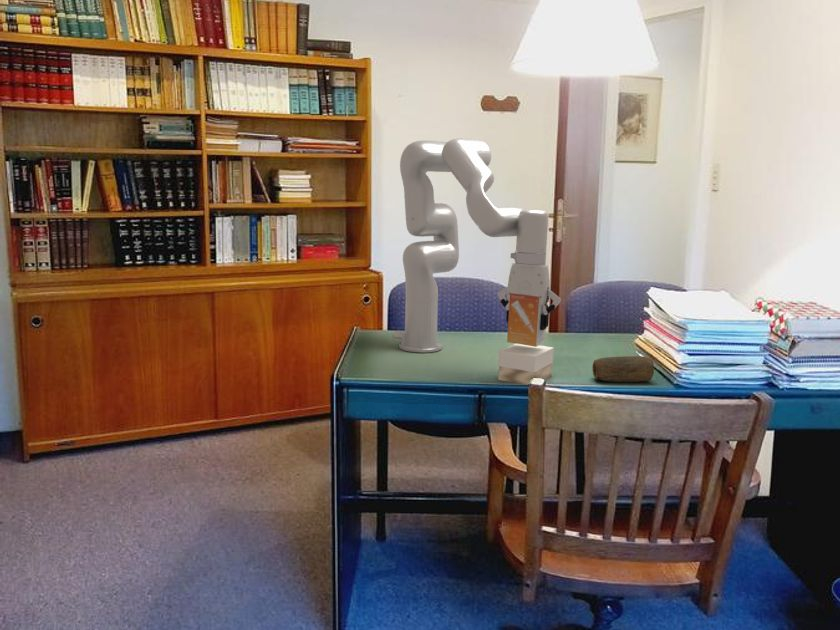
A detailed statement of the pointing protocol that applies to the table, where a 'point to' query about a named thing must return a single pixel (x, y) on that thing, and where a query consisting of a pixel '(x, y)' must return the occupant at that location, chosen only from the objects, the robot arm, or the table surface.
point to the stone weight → (623, 369)
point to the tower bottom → (523, 374)
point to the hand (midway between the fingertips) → (526, 326)
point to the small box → (525, 320)
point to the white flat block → (526, 357)
